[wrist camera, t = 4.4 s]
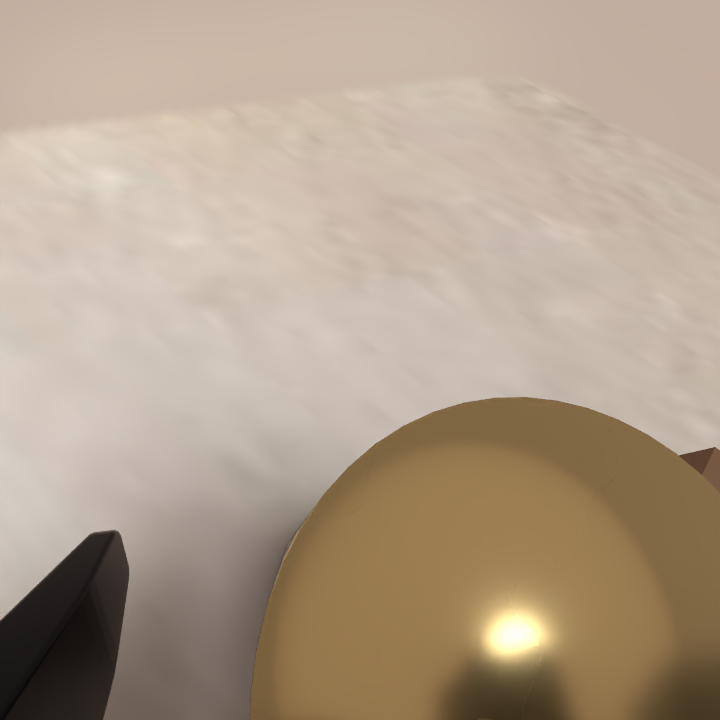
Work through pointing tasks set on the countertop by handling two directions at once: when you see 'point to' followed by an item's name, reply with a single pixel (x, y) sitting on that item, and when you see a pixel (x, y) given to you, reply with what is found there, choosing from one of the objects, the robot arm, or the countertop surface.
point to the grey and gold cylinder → (500, 577)
